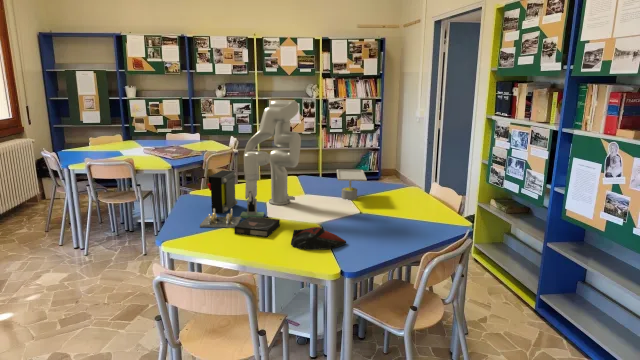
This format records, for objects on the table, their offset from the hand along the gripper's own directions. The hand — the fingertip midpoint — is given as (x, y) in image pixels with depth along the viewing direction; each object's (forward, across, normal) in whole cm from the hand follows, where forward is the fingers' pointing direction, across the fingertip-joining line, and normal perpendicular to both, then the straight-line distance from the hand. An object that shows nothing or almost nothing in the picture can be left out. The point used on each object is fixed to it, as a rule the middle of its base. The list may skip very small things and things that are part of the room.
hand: (252, 210), depth 231 cm
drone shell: (+4, +39, +35) cm, 53 cm away
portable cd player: (+4, +22, +6) cm, 23 cm away
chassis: (+3, +12, -14) cm, 19 cm away
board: (+3, 0, 0) cm, 3 cm away
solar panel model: (+3, -40, +55) cm, 68 cm away
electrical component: (+4, -13, -18) cm, 22 cm away
